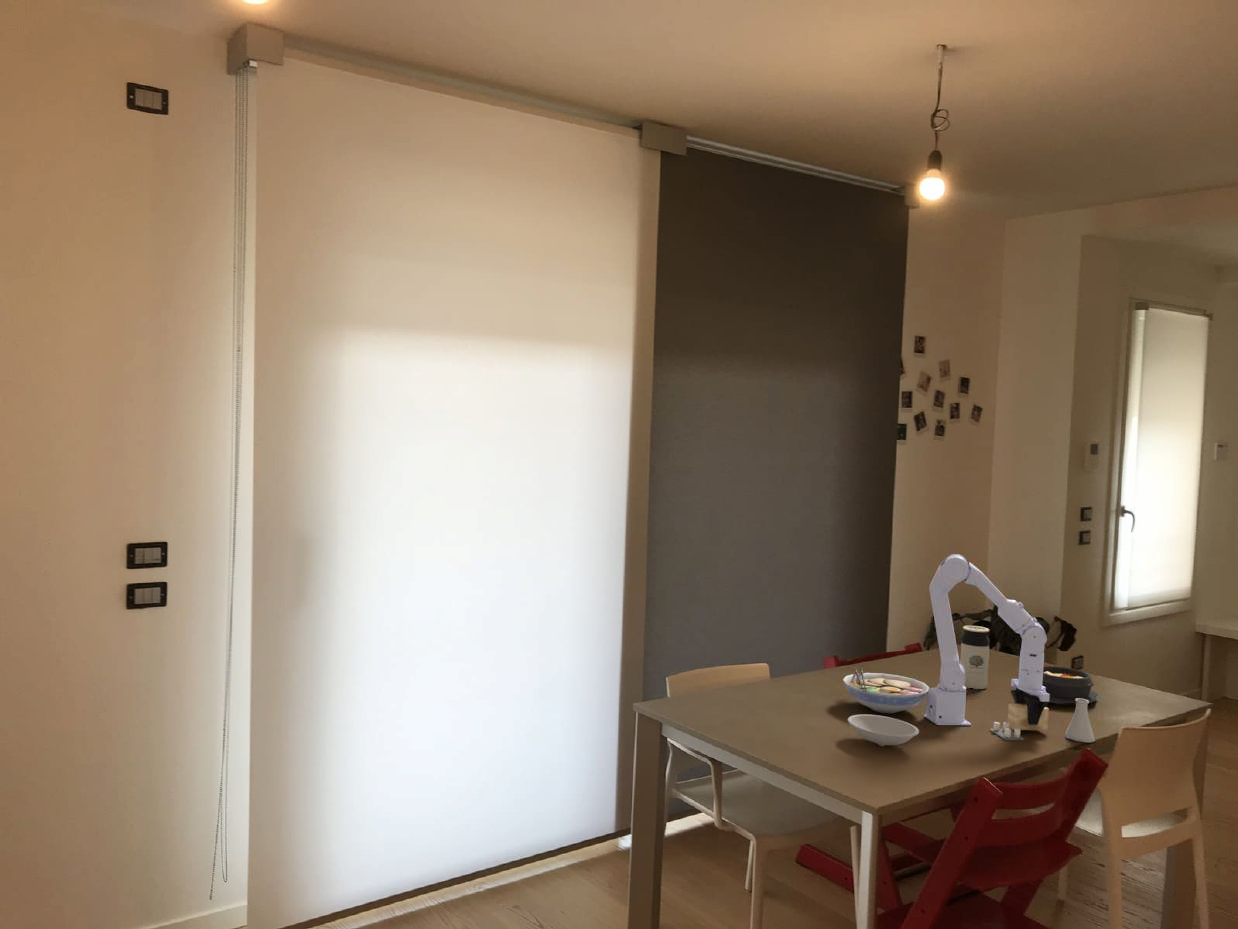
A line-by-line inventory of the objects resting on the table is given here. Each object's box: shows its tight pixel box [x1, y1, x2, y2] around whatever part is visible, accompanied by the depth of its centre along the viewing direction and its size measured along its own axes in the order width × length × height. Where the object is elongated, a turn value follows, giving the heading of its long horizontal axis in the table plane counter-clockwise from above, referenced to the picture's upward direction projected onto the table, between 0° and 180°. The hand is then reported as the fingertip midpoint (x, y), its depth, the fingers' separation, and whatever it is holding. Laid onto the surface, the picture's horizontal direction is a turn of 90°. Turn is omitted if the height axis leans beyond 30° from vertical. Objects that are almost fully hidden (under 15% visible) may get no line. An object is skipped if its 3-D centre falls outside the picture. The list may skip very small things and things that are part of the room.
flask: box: [1064, 698, 1096, 744], centre depth 241 cm, size 7×7×10 cm
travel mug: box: [959, 625, 991, 690], centre depth 289 cm, size 8×8×18 cm
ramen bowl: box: [842, 666, 930, 714], centre depth 259 cm, size 25×23×8 cm
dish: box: [847, 714, 920, 747], centre depth 229 cm, size 18×14×5 cm
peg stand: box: [989, 721, 1025, 741], centre depth 241 cm, size 5×7×2 cm
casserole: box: [1042, 665, 1099, 706], centre depth 278 cm, size 25×19×8 cm
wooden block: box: [1007, 703, 1050, 731], centre depth 245 cm, size 8×4×6 cm, turn 97°
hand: (1027, 721), depth 245 cm, fingers closed on wooden block, 4 cm apart
